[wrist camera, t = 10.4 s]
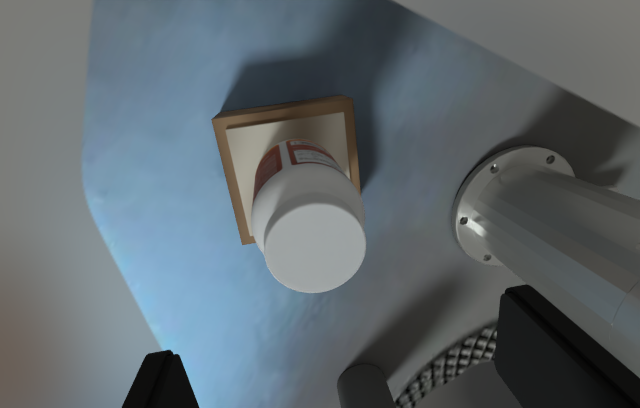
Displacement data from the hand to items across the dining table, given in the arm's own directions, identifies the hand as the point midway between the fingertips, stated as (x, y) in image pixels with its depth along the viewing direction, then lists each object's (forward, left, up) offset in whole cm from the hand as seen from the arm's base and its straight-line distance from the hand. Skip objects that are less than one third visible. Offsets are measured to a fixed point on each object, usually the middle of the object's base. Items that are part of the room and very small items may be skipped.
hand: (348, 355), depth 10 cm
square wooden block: (0, 0, -21) cm, 21 cm away
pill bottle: (0, 0, -17) cm, 17 cm away
